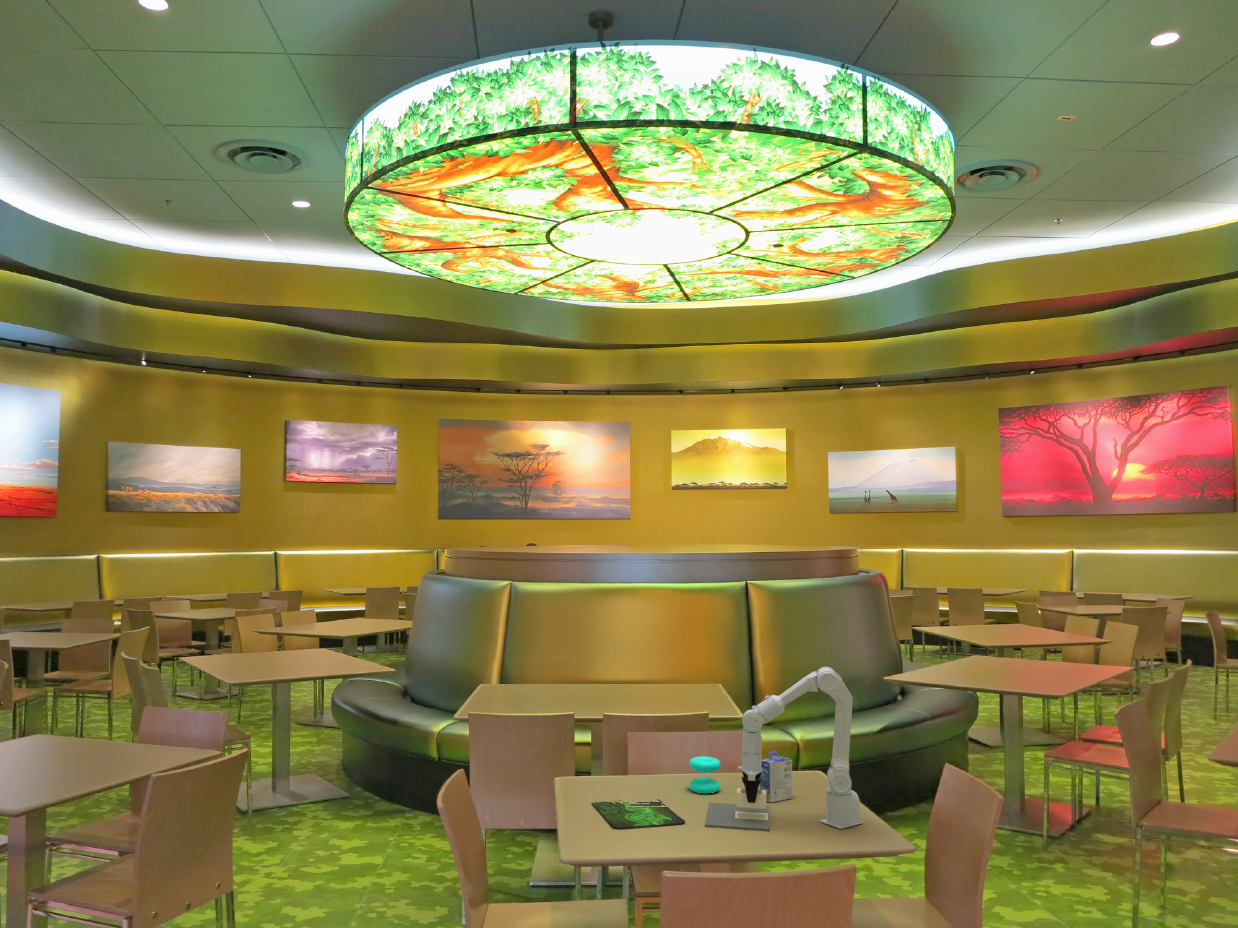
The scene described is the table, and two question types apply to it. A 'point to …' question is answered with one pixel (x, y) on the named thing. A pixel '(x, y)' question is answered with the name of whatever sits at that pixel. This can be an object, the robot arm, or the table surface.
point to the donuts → (705, 767)
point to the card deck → (758, 803)
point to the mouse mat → (636, 815)
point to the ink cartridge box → (776, 777)
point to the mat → (737, 817)
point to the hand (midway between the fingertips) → (751, 799)
